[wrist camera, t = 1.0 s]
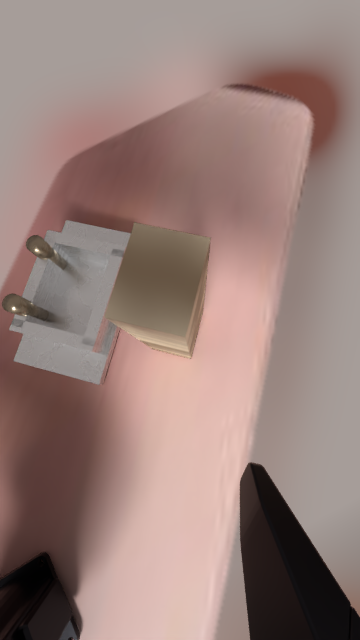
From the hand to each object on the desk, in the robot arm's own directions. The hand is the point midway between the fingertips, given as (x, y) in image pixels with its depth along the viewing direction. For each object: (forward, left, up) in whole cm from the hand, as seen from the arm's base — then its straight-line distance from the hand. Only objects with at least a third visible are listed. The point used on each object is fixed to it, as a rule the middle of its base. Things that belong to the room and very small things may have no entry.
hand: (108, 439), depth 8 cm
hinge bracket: (-2, +12, -15) cm, 19 cm away
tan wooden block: (+4, +5, -15) cm, 16 cm away
